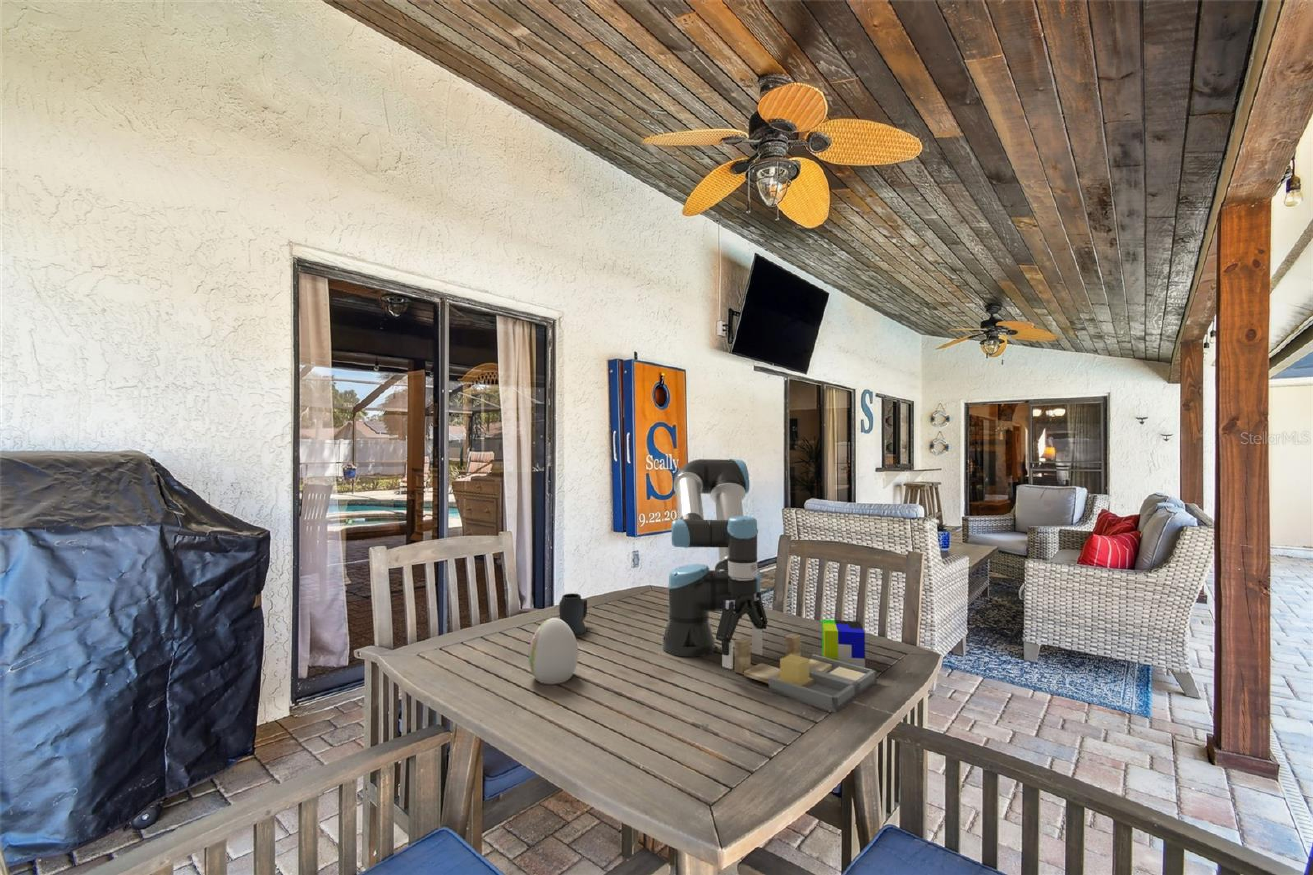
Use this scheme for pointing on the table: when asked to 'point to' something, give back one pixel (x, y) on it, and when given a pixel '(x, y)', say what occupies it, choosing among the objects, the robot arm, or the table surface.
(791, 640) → the strip
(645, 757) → the table surface
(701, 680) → the table surface
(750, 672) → the strip
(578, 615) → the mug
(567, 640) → the decorative egg
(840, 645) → the puzzle toy
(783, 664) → the cube
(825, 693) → the board
